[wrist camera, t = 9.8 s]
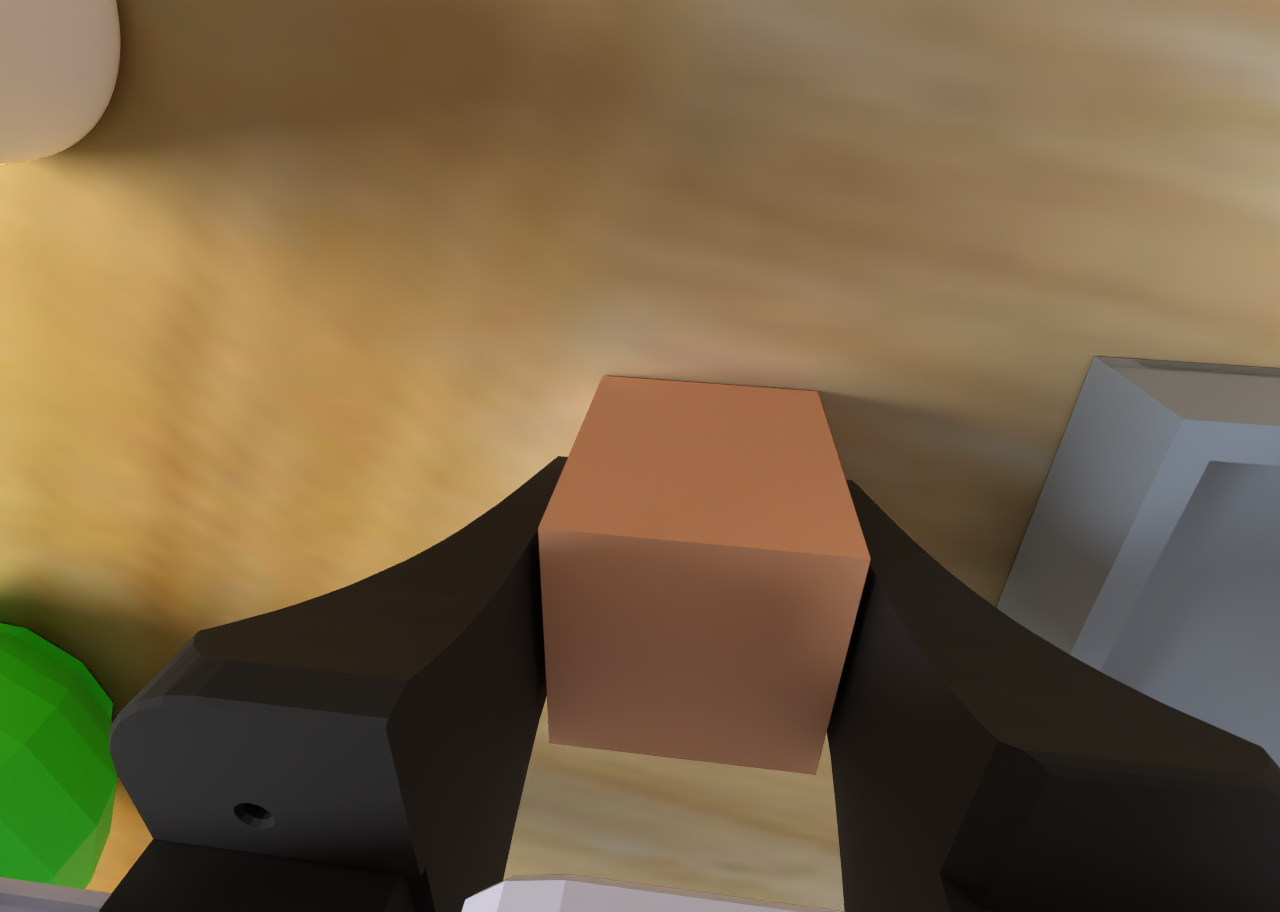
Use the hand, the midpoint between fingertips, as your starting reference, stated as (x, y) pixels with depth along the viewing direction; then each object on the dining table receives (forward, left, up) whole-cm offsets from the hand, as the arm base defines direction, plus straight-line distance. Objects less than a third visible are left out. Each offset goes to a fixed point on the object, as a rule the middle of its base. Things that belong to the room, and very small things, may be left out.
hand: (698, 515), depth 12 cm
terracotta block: (0, 0, -1) cm, 1 cm away
